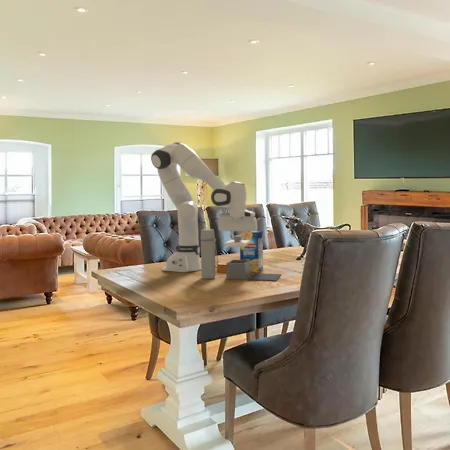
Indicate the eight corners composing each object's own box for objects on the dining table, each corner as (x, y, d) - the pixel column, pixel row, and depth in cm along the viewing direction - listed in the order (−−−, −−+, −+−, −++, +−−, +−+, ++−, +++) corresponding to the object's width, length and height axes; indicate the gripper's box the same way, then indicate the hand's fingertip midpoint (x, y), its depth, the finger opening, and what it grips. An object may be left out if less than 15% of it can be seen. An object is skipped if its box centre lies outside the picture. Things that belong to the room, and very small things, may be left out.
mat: (248, 280, 236) (248, 279, 236) (255, 274, 251) (255, 273, 251) (276, 281, 232) (276, 280, 232) (281, 275, 247) (281, 274, 247)
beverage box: (258, 272, 256) (258, 232, 254) (240, 271, 261) (239, 231, 259) (263, 270, 262) (262, 231, 261) (245, 269, 267) (244, 230, 265)
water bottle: (205, 279, 239) (204, 230, 237) (198, 277, 246) (197, 229, 244) (221, 278, 243) (220, 229, 241) (214, 275, 250) (213, 228, 248)
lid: (224, 247, 239) (224, 236, 239) (231, 244, 252) (231, 234, 251) (245, 248, 237) (245, 237, 236) (250, 244, 249) (250, 234, 248)
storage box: (226, 278, 241) (226, 263, 240) (232, 274, 252) (232, 259, 252) (245, 279, 238) (245, 263, 237) (250, 274, 250) (250, 259, 249)
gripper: (216, 213, 242) (216, 239, 244) (255, 213, 237) (255, 240, 238) (220, 212, 248) (220, 238, 250) (258, 212, 243) (258, 239, 244)
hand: (237, 239), depth 244 cm, fingers closed on lid, 2 cm apart
